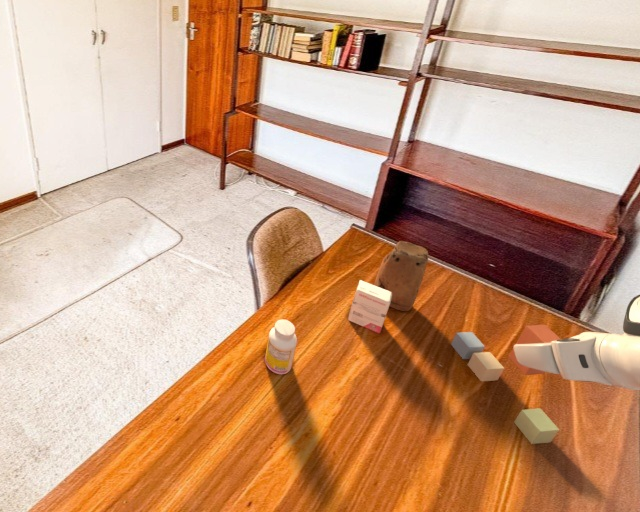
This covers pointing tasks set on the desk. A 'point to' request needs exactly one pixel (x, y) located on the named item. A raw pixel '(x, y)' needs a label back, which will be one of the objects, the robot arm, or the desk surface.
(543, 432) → the cube
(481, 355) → the cube
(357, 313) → the ink box
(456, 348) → the cube
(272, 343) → the supplement bottle
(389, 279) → the brown tall rounded lump
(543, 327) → the tall block
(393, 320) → the desk surface
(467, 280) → the desk surface
